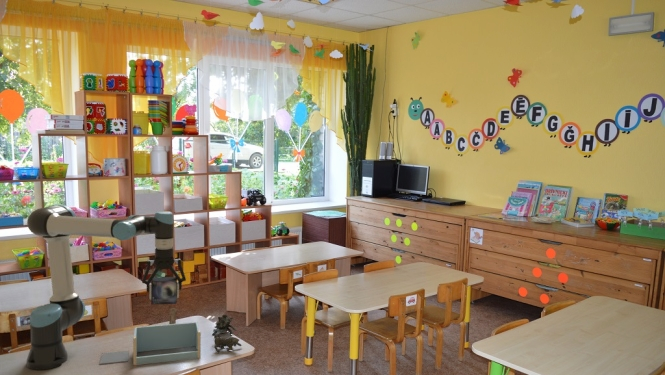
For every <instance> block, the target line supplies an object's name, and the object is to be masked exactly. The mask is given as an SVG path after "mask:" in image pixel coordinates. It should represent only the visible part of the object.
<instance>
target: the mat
mask: <svg viewBox="0 0 665 375" xmlns="http://www.w3.org/2000/svg"><path fill="white" fill-rule="evenodd" d="M129 354H130V350H123V351H121V350H120V351H112V352H103V353H101V355H100V360H99V365H100V366H101V365H109V364H118V363H126V362H127V363H128V362H129Z"/></svg>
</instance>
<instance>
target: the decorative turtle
mask: <svg viewBox="0 0 665 375" xmlns="http://www.w3.org/2000/svg"><path fill="white" fill-rule="evenodd" d="M217 319H218V321H217V323H216V324H215V325H216V326H214V328H213V330H212V332H213V333H212V334H211V335H212V336H215V335H217V333H219V334H221V333H222V334H223V333H224V334H225V333H227V332H228V333H229V337H230V336H232V337H233V331H232V330H234V331H238V330H237V328H235V326H233V325H231V322H232V321H233V319H234V317H233V316H231V317H229V316H228V315H227V314H226V313H225V314H223V315H221V316H218V317H217ZM226 331H227V332H226ZM231 334H232V335H231Z"/></svg>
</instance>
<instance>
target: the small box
mask: <svg viewBox="0 0 665 375" xmlns="http://www.w3.org/2000/svg"><path fill="white" fill-rule="evenodd" d="M177 282H178V280H177V279H176V277H175V276H161V277H160V276H159V277H155V276H154V278H153V279H152V281H151V282H150V283H151V300H150V302H151V304H150V305H152V306H153V305H154V306H155V305H156V306H157V305H176V304H177V303H178V302H177V301H178V298H177Z"/></svg>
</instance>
